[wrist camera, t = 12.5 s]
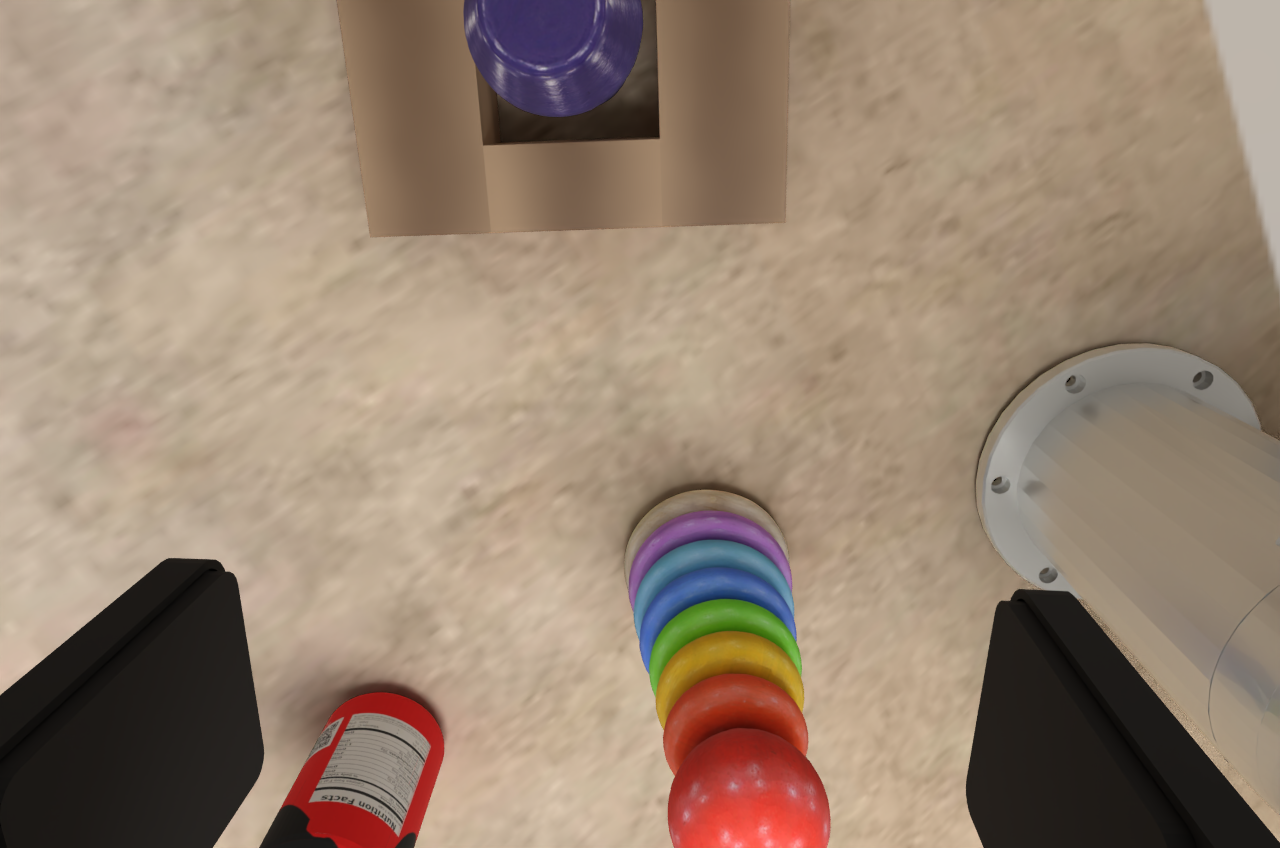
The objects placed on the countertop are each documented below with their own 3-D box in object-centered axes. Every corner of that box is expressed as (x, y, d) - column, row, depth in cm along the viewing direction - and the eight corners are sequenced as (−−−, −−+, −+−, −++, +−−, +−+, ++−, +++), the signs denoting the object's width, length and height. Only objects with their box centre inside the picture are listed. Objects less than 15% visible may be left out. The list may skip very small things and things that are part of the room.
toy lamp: (630, -24, 34) (607, -147, 18) (660, 99, 35) (663, 85, 19) (513, 11, 34) (391, -79, 18) (547, 131, 35) (461, 142, 20)
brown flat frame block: (777, -145, 32) (793, -179, 28) (772, 211, 36) (785, 222, 33) (354, -125, 32) (314, -156, 29) (399, 224, 37) (370, 237, 33)
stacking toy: (636, 634, 44) (624, 985, 26) (614, 492, 41) (585, 776, 23) (791, 618, 43) (886, 964, 26) (779, 473, 41) (876, 749, 23)
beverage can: (307, 726, 46) (194, 924, 35) (385, 659, 44) (294, 844, 33) (394, 796, 47) (313, 1008, 36) (473, 734, 46) (414, 935, 35)
